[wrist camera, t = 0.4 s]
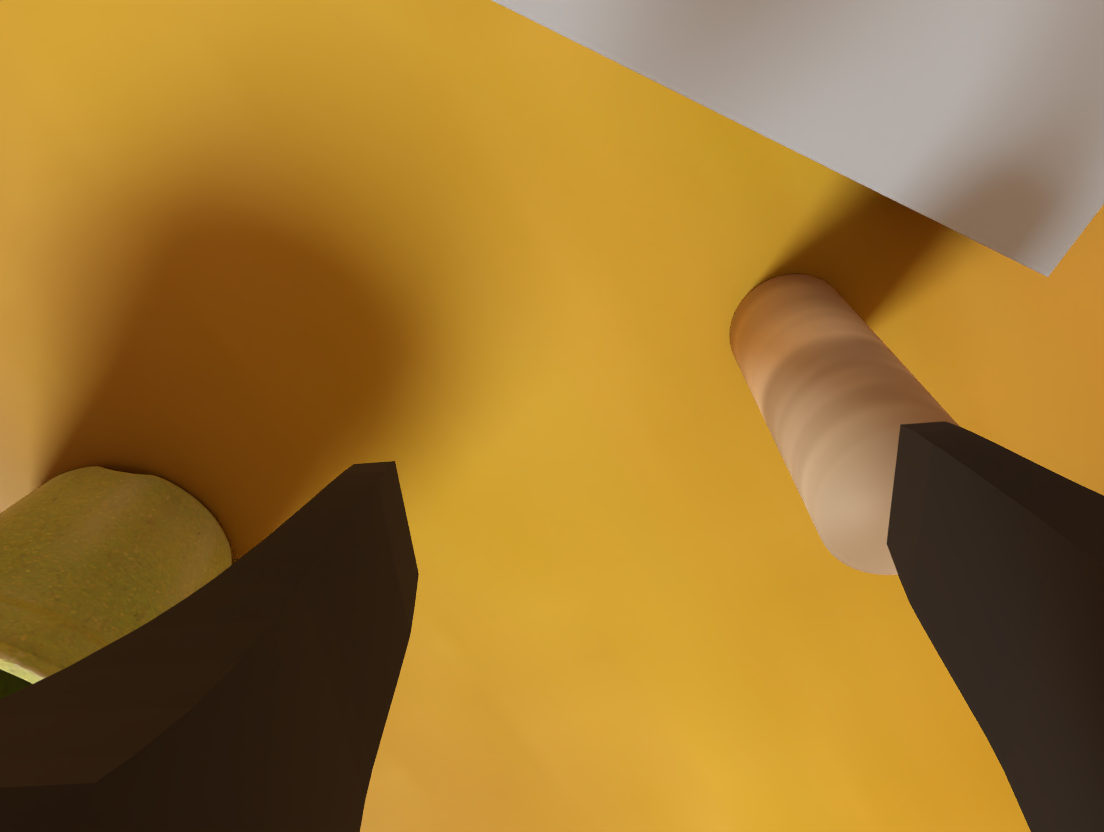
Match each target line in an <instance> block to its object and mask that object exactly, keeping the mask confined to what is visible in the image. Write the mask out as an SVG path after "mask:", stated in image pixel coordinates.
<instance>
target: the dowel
mask: <svg viewBox="0 0 1104 832" xmlns="http://www.w3.org/2000/svg"><path fill="white" fill-rule="evenodd" d="M730 344H731V349H732V352H733V354H734V356H735V359H736V361H737V363H738V365H739V367H740V369H741V371H742V373H743V375H744V378H745V380H746V382H747V384H748V386H749V388H750V390H751V392H752V394H753V396H754V399H755V401H756V403H757V405H758V407H759V409H760V411H761V413H762V415H763V418H764V420H765V422H766V424H767V426H768V428H769V430H770V432H771V434H772V436H773V439H774V441H775V443H776V445H777V447H778V449H779V451H780V453H781V455H782V458H783V460H784V462H785V464H786V466H787V468H788V470H789V472H790V474H791V476H792V479H793V481H794V483H795V485H796V487H797V489H798V491H799V493H800V495H801V498H802V500H803V502H804V504H805V506H806V508H807V510H808V512H809V514H810V516H811V519H812V521H813V523H814V525H815V527H816V529H817V531H818V533H819V535H820V537H821V539H822V541H823V543H824V545H825V546H826V548H827V549H828V550H829V551H830V553H831V554H832V555H834V556H835V557H836V558H837V559H838V560H840V561H841V562H843V563H844V564H846V565H848V566H850V567H852V568H854V569H857V570H860V571H863V572H867V573H872V574H880V575H898V573H897V570H896V568H895V565H894V562H893V560H892V557H891V554H890V552H889V549H888V546H887V535H888V527H889V518H890V509H891V501H892V492H893V484H894V475H895V467H896V458H897V449H898V441H899V432H900V424H913V423H927V422H941V421H946V422H949V423H951V424H954V425H957V426H959V425H958V424H957V423H956V422H955V421H954V420H953V419H952V418H951V417H950V415H949V414H948V413H947V412H946V411H945V410H944V409H943V408H942V407H941V406H940V404H939V403H938V402H937V401H936V400H935V399H934V398H933V397H932V396H931V395H930V393H929V392H928V391H927V390H926V389H925V388H924V387H923V386H922V385H921V384H920V382H919V381H918V380H917V379H916V378H915V377H914V376H913V375H912V374H911V373H910V371H909V370H908V369H907V368H906V367H905V366H904V365H903V364H902V363H901V361H900V360H899V359H898V358H897V357H896V356H895V355H894V354H893V353H892V352H891V350H890V349H889V348H888V347H887V346H886V345H885V344H884V343H883V342H882V341H881V339H880V338H879V337H878V336H877V335H876V334H875V333H874V332H873V331H872V330H871V328H870V327H869V326H868V325H867V324H866V323H865V322H864V321H863V320H862V319H861V317H860V316H859V315H858V314H857V313H856V312H855V311H854V310H853V309H852V308H851V306H850V305H849V304H848V303H847V302H846V301H845V300H844V299H843V298H842V297H841V295H840V294H839V293H838V292H837V291H836V290H835V289H834V288H833V287H832V286H831V285H829V284H828V283H827V282H825V281H823V280H821V279H819V278H817V277H814V276H810V275H806V274H787V275H781V276H778V277H774V278H772V279H770V280H767V281H765V282H763V283H762V284H760V285H758V286H757V287H756V288H754V289H753V290H752V291H751V292H750V293H749V294H747V296H746V297H745V298H744V299H743V300H742V301H741V303H740V304H739V306H738V307H737V309H736V311H735V313H734V316H733V319H732V322H731V326H730ZM959 427H960V426H959Z"/></svg>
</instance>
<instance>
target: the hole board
mask: <svg viewBox="0 0 1104 832" xmlns="http://www.w3.org/2000/svg"><path fill="white" fill-rule="evenodd" d="M492 1H494V2H496V3H498V4H500V5H502V6H504V7H507V8H509V9H511V10H513V11H515V12H517V13H519V14H521V15H523V16H525V17H527V18H529V19H531V20H533V21H535V22H537V23H539V24H541V25H543V26H545V27H547V28H549V29H551V30H553V31H555V32H557V33H559V34H561V35H563V36H565V37H567V38H569V39H571V40H573V41H575V42H577V43H579V44H581V45H583V46H585V47H587V48H589V49H591V50H593V51H595V52H597V53H599V54H601V55H603V56H605V57H607V58H609V59H611V60H613V61H615V62H617V63H619V64H621V65H623V66H625V67H627V68H629V69H631V70H633V71H635V72H637V73H639V74H641V75H643V76H645V77H647V78H649V79H651V80H653V81H655V82H657V83H659V84H661V85H663V86H665V87H667V88H669V89H671V90H673V91H675V92H677V93H679V94H681V95H683V96H685V97H687V98H689V99H691V100H693V101H695V102H697V103H699V104H701V105H703V106H705V107H707V108H709V109H711V110H713V111H715V112H717V113H719V114H721V115H723V116H725V117H727V118H729V119H731V120H733V121H735V122H737V123H739V124H741V125H743V126H745V127H747V128H749V129H751V130H753V131H756V132H758V133H760V134H762V135H764V136H766V137H768V138H770V139H772V140H774V141H776V142H778V143H780V144H782V145H784V146H786V147H788V148H790V149H792V150H794V151H796V152H798V153H800V154H802V155H804V156H806V157H808V158H810V159H812V160H814V161H816V162H818V163H820V164H822V165H824V166H826V167H828V168H830V169H832V170H834V171H836V172H838V173H840V174H842V175H844V176H846V177H848V178H850V179H852V180H854V181H856V182H858V183H860V184H862V185H864V186H866V187H868V188H870V189H872V190H874V191H876V192H878V193H880V194H882V195H884V196H886V197H888V198H890V199H892V200H894V201H896V202H898V203H900V204H902V205H904V206H906V207H908V208H910V209H912V210H914V211H916V212H918V213H920V214H922V215H924V216H926V217H928V218H930V219H932V220H934V221H936V222H938V223H940V224H942V225H944V226H946V227H948V228H950V229H952V230H954V231H956V232H958V233H960V234H962V235H964V236H966V237H968V238H970V239H972V240H974V241H976V242H978V243H980V244H982V245H984V246H986V247H988V248H990V249H992V250H994V251H996V252H998V253H1000V254H1002V255H1004V256H1007V257H1009V258H1011V259H1013V260H1015V261H1017V262H1019V263H1021V264H1023V265H1025V266H1027V267H1029V268H1031V269H1033V270H1035V271H1037V272H1039V273H1041V274H1043V275H1045V276H1047V277H1048V276H1049V275H1050V274H1051V272H1052V271H1053V270H1054V268H1055V267H1056V266H1057V264H1058V263H1059V262H1060V260H1061V259H1062V258H1063V257H1064V255H1065V254H1066V253H1067V251H1068V250H1069V249H1070V247H1071V246H1072V245H1073V243H1074V242H1075V241H1076V240H1077V238H1078V237H1079V236H1080V234H1081V233H1082V232H1083V230H1084V229H1085V228H1086V226H1087V225H1088V224H1089V222H1090V221H1091V220H1092V219H1093V217H1094V216H1095V215H1096V213H1097V212H1098V211H1099V209H1100V208H1101V207H1102V205H1103V204H1104V0H492Z"/></svg>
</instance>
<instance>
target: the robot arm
mask: <svg viewBox="0 0 1104 832" xmlns="http://www.w3.org/2000/svg"><path fill="white" fill-rule="evenodd" d="M887 546H888V549H889V552H890V554H891V557H892V560H893V562H894V565H895V568H896V570H897V573H898V576H899V578H900V581H901V583H902V585H903V588H904V590H905V593H906V595H907V598H908V600H909V602H910V604H911V606H912V608H913V610H914V612H915V613H916V615H917V617H918V619H919V621H920V622H921V624H922V626H923V628H924V630H925V631H926V633H927V635H928V637H929V638H930V640H931V642H932V644H933V645H934V647H935V649H936V651H937V652H938V654H939V656H940V658H941V659H942V661H943V663H944V664H945V666H946V668H947V670H948V671H949V673H950V675H951V677H952V678H953V680H954V682H955V683H956V685H957V687H958V689H959V690H960V692H961V694H962V696H963V697H964V699H965V701H966V702H967V704H968V706H969V708H970V709H971V711H972V713H973V715H974V716H975V718H976V720H977V721H978V723H979V725H980V727H981V728H982V730H983V732H984V734H985V735H986V737H987V739H988V741H989V743H990V745H991V747H992V748H993V750H994V752H995V754H996V756H997V758H998V760H999V762H1000V764H1001V766H1002V768H1003V770H1004V772H1005V774H1006V776H1007V779H1008V781H1009V783H1010V785H1011V788H1012V790H1013V792H1014V794H1015V797H1016V799H1017V801H1018V803H1019V806H1020V808H1021V810H1022V812H1023V815H1024V817H1025V819H1026V821H1027V824H1028V826H1029V828H1030V830H1031V832H1104V496H1103V495H1101V494H1099V493H1097V492H1094V491H1092V490H1090V489H1088V488H1086V487H1084V486H1081V485H1079V484H1077V483H1075V482H1073V481H1071V480H1069V479H1067V478H1065V477H1063V476H1061V475H1059V474H1056V473H1054V472H1052V471H1050V470H1048V469H1046V468H1044V467H1042V466H1040V465H1038V464H1036V463H1034V462H1032V461H1030V460H1028V459H1026V458H1024V457H1022V456H1020V455H1018V454H1016V453H1014V452H1012V451H1010V450H1008V449H1006V448H1004V447H1002V446H1000V445H998V444H996V443H994V442H992V441H990V440H988V439H985V438H983V437H981V436H979V435H977V434H975V433H973V432H971V431H968V430H966V429H964V428H962V427H959V426H957V425H954V424H951V423H949V422H946V421H941V422H927V423H913V424H900V432H899V441H898V449H897V458H896V467H895V475H894V484H893V492H892V501H891V509H890V518H889V527H888V535H887ZM417 582H418V569H417V564H416V559H415V555H414V550H413V545H412V540H411V536H410V531H409V526H408V521H407V517H406V512H405V507H404V502H403V498H402V493H401V488H400V483H399V479H398V474H397V469H396V464H395V461H392V462H378V463H364V464H354V465H352V466H351V467H349V468H348V469H347V470H345V471H344V472H343V473H342V474H340V475H339V476H338V477H337V478H336V479H334V480H333V481H332V482H331V483H330V484H329V485H327V486H326V487H325V488H324V489H323V490H322V491H320V492H319V493H318V494H317V495H316V496H315V497H314V498H312V499H311V500H310V501H309V502H308V503H307V504H306V505H304V506H303V507H302V508H301V509H300V510H299V511H297V512H296V513H295V514H294V515H293V516H292V517H290V518H289V519H288V520H287V521H286V522H285V523H283V524H282V525H281V526H280V527H279V528H277V529H276V530H275V531H274V532H273V533H272V534H270V535H269V536H268V537H267V538H266V539H264V540H263V541H262V542H260V543H259V544H258V545H257V546H255V547H254V548H253V549H251V550H250V551H249V552H248V553H246V554H245V555H244V556H242V557H241V558H240V559H239V560H237V561H236V562H235V563H233V564H232V565H231V566H230V567H228V568H227V569H226V570H224V571H223V572H222V573H221V574H219V575H218V576H217V577H215V578H214V579H212V580H211V581H210V582H208V583H207V584H205V585H204V586H203V587H201V588H200V589H198V590H197V591H195V592H194V593H192V594H191V595H190V596H188V597H187V598H185V599H184V600H182V601H181V602H179V603H177V604H176V605H174V606H173V607H171V608H170V609H168V610H166V611H165V612H163V613H162V614H160V615H159V616H157V617H156V618H154V619H152V620H151V621H149V622H148V623H146V624H144V625H143V626H141V627H139V628H138V629H136V630H134V631H132V632H130V633H129V634H127V635H125V636H123V637H121V638H119V639H118V640H116V641H114V642H112V643H110V644H109V645H107V646H105V647H103V648H101V649H100V650H98V651H96V652H94V653H92V654H90V655H89V656H87V657H85V658H83V659H81V660H80V661H78V662H76V663H74V664H72V665H70V666H68V667H67V668H65V669H63V670H61V671H59V672H57V673H54V674H52V675H50V676H48V677H46V678H44V679H42V680H40V681H38V682H36V683H34V684H32V685H30V686H28V687H26V688H24V689H21V690H19V691H17V692H15V693H12V694H10V695H8V696H6V697H4V698H1V699H0V832H360V827H361V821H362V815H363V809H364V803H365V798H366V794H367V790H368V786H369V782H370V777H371V773H372V769H373V765H374V762H375V758H376V755H377V751H378V748H379V744H380V741H381V737H382V734H383V730H384V727H385V723H386V720H387V716H388V713H389V709H390V706H391V702H392V699H393V695H394V692H395V688H396V685H397V681H398V677H399V674H400V670H401V667H402V663H403V659H404V656H405V652H406V649H407V645H408V641H409V637H410V633H411V627H412V620H413V613H414V607H415V598H416V590H417Z"/></svg>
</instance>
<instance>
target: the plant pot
mask: <svg viewBox="0 0 1104 832" xmlns="http://www.w3.org/2000/svg"><path fill="white" fill-rule="evenodd" d="M231 565H232V558H231V549H230V545H229V542H228V540H227V538H226V535H225V533H224V532H223V530H222V528H221V527H220V525H219V524H218V522H217V520H216V519H215V518H214V517H213V515H212V514H211V513H210V512H209V511H208V510H207V509H206V508H205V507H204V506H203V505H202V504H201V503H200V502H199V501H198V500H196V499H195V498H194V497H193V496H191V495H190V494H189V493H187V492H186V491H184V490H183V489H182V488H180V487H178V486H176V485H174V484H173V483H171V482H169V481H167V480H165V479H162V478H160V477H158V476H154V475H145V474H132V473H126V472H120V471H115V470H110V469H106V468H103V467H100V466H92V467H84V468H79V469H75V470H71V471H68V472H66V473H63V474H60V475H58V476H56V477H54V478H53V479H51V480H49V481H48V482H46V483H45V484H43V485H42V486H41V487H39V488H38V489H36V490H35V491H33V492H32V493H30V494H28V495H27V496H25V497H24V498H22V499H21V500H19V501H18V502H16V503H15V504H14V505H12V506H11V507H9V508H8V509H6V510H5V511H4V512H2V513H1V514H0V699H1V698H4V697H6V696H8V695H10V694H12V693H15V692H17V691H19V690H21V689H24V688H26V687H28V686H30V685H32V684H34V683H36V682H38V681H40V680H42V679H44V678H46V677H48V676H50V675H52V674H54V673H57V672H59V671H61V670H63V669H65V668H67V667H68V666H70V665H72V664H74V663H76V662H78V661H80V660H81V659H83V658H85V657H87V656H89V655H90V654H92V653H94V652H96V651H98V650H100V649H101V648H103V647H105V646H107V645H109V644H110V643H112V642H114V641H116V640H118V639H119V638H121V637H123V636H125V635H127V634H129V633H130V632H132V631H134V630H136V629H138V628H139V627H141V626H143V625H144V624H146V623H148V622H149V621H151V620H152V619H154V618H156V617H157V616H159V615H160V614H162V613H163V612H165V611H166V610H168V609H170V608H171V607H173V606H174V605H176V604H177V603H179V602H181V601H182V600H184V599H185V598H187V597H188V596H190V595H191V594H192V593H194V592H195V591H197V590H198V589H200V588H201V587H203V586H204V585H205V584H207V583H208V582H210V581H211V580H212V579H214V578H215V577H217V576H218V575H219V574H221V573H222V572H223V571H224V570H226V569H227V568H228V567H230V566H231Z"/></svg>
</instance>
